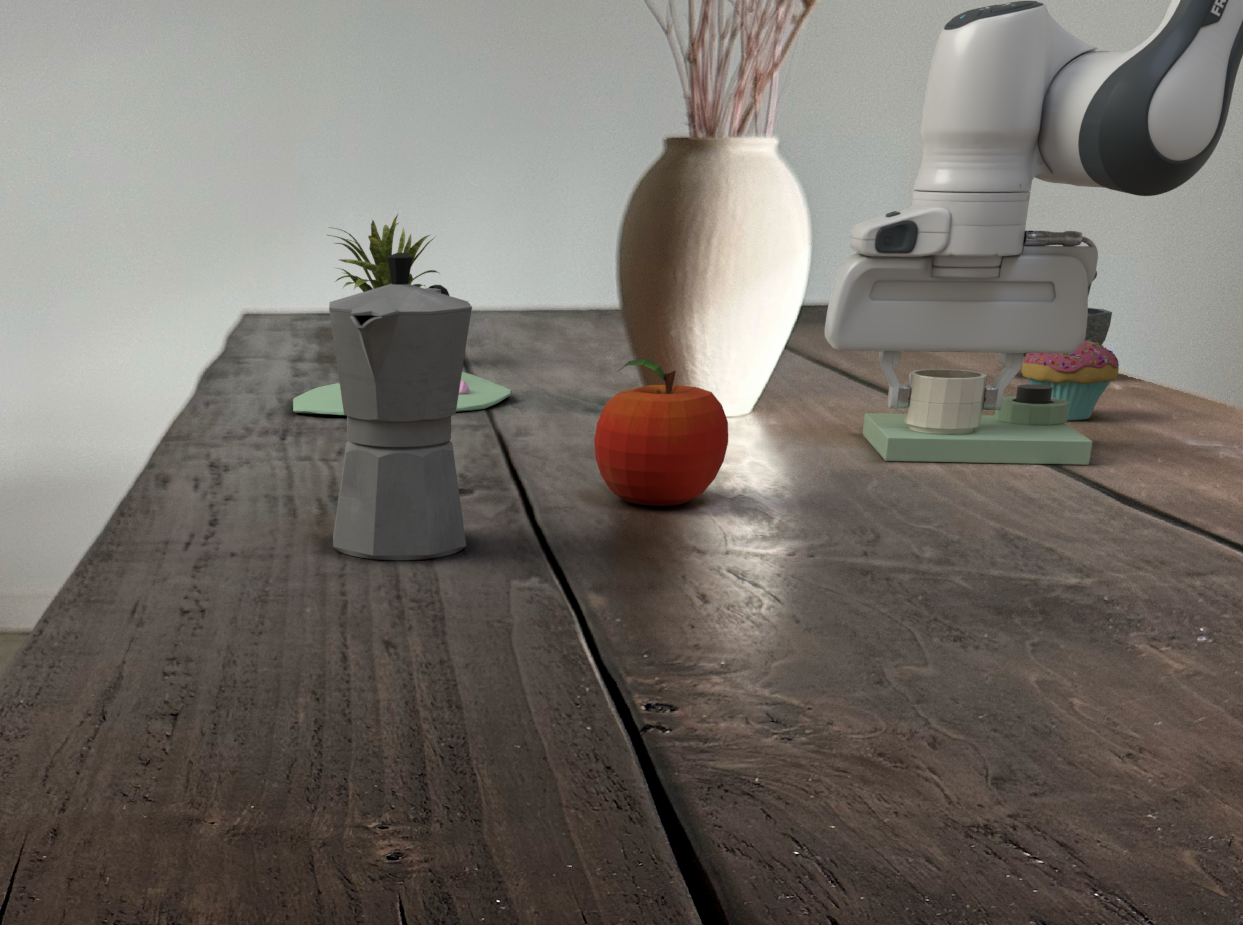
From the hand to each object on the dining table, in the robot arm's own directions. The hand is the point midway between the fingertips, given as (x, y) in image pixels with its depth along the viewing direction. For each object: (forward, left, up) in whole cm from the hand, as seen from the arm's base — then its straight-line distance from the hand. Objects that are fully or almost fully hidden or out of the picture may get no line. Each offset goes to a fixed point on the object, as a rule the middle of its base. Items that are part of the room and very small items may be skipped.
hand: (942, 408), depth 141 cm
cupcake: (-15, -21, -4) cm, 26 cm away
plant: (+48, -24, -4) cm, 54 cm away
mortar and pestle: (-21, -49, -4) cm, 53 cm away
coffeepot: (+41, +38, -4) cm, 56 cm away
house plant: (+53, -53, -4) cm, 75 cm away
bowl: (0, 0, -2) cm, 2 cm away
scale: (-3, -2, -4) cm, 5 cm away
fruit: (+24, +23, -4) cm, 33 cm away
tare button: (-9, -6, 0) cm, 10 cm away
